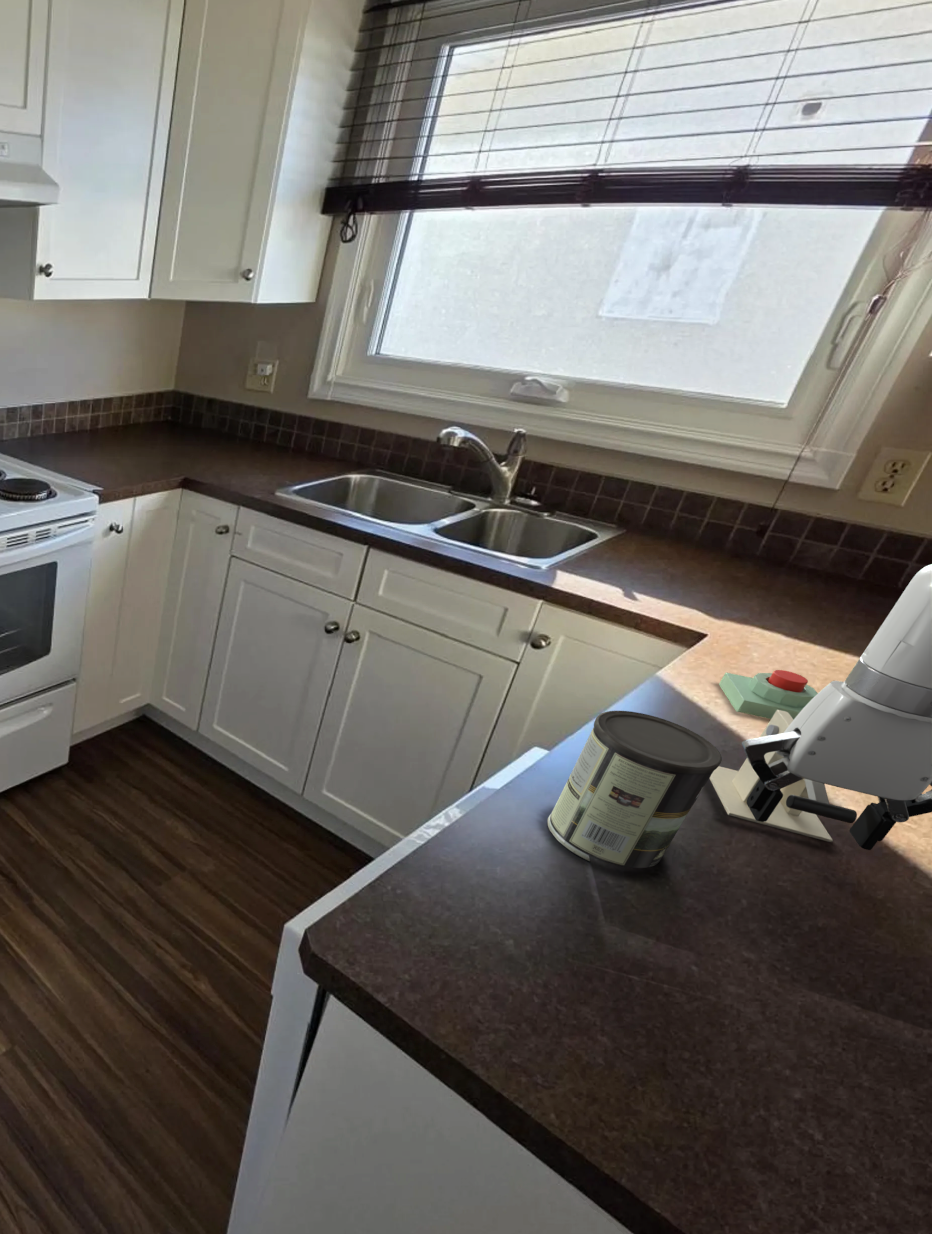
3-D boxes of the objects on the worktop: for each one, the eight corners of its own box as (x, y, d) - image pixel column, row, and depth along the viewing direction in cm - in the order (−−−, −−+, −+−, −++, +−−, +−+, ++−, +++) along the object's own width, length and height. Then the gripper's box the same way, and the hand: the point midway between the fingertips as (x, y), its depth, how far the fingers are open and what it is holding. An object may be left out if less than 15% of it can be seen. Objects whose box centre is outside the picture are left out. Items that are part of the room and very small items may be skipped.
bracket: (827, 848, 86) (890, 763, 81) (724, 820, 90) (777, 737, 84) (791, 792, 95) (845, 712, 89) (699, 769, 98) (745, 691, 93)
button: (796, 684, 111) (802, 673, 110) (805, 696, 108) (812, 685, 107) (763, 677, 112) (770, 667, 112) (772, 689, 110) (778, 678, 109)
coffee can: (638, 823, 89) (696, 722, 82) (674, 886, 80) (742, 778, 74) (535, 800, 92) (583, 701, 85) (559, 858, 84) (614, 753, 77)
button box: (805, 702, 114) (819, 679, 112) (829, 733, 106) (845, 709, 105) (718, 684, 118) (731, 661, 116) (736, 713, 111) (750, 689, 109)
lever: (846, 828, 81) (861, 816, 79) (783, 812, 83) (797, 800, 81) (824, 741, 88) (837, 728, 86) (767, 728, 90) (779, 716, 88)
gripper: (1009, 695, 74) (900, 834, 82) (773, 650, 81) (694, 782, 90) (1059, 735, 68) (936, 880, 77) (800, 682, 75) (713, 820, 84)
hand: (806, 826), depth 83 cm, fingers open, 7 cm apart
